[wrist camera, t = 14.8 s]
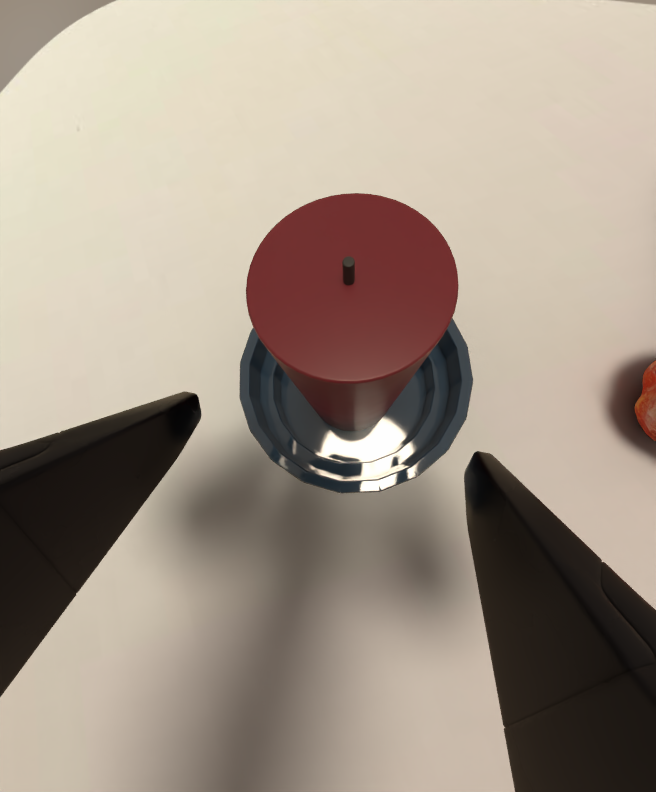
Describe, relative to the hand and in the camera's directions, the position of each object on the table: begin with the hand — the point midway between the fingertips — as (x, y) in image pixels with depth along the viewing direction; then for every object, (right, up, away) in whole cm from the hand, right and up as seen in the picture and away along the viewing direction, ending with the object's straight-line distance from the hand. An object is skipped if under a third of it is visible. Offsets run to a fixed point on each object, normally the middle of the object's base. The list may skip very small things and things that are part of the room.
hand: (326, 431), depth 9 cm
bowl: (+2, +2, +11) cm, 11 cm away
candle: (+2, +2, +11) cm, 11 cm away
